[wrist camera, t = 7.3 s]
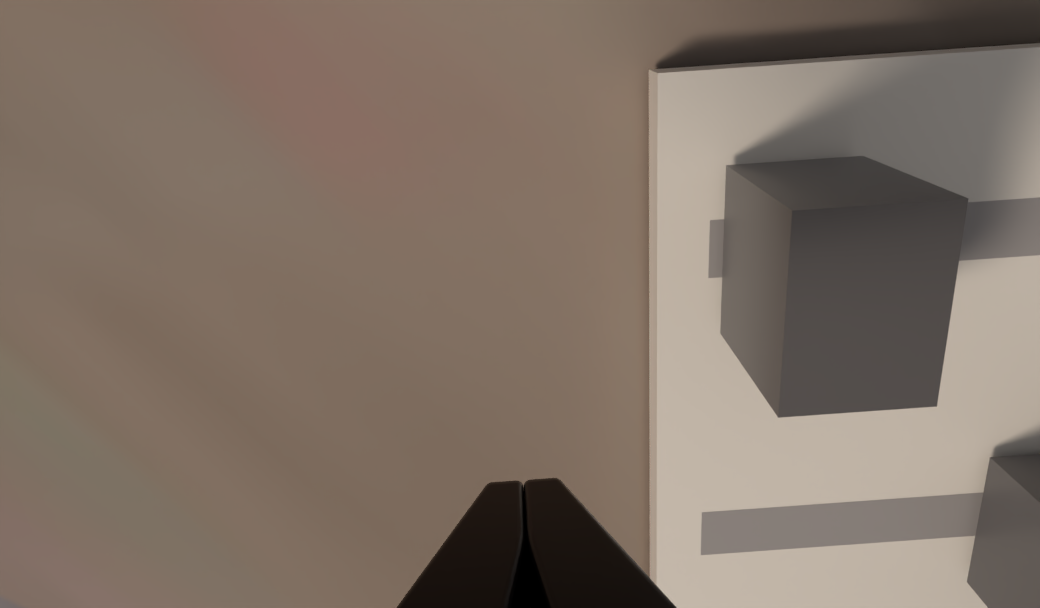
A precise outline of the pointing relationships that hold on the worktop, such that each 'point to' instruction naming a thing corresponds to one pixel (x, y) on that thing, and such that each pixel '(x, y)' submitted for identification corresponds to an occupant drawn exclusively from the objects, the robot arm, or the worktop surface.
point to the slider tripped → (839, 283)
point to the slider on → (1008, 535)
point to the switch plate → (844, 436)
